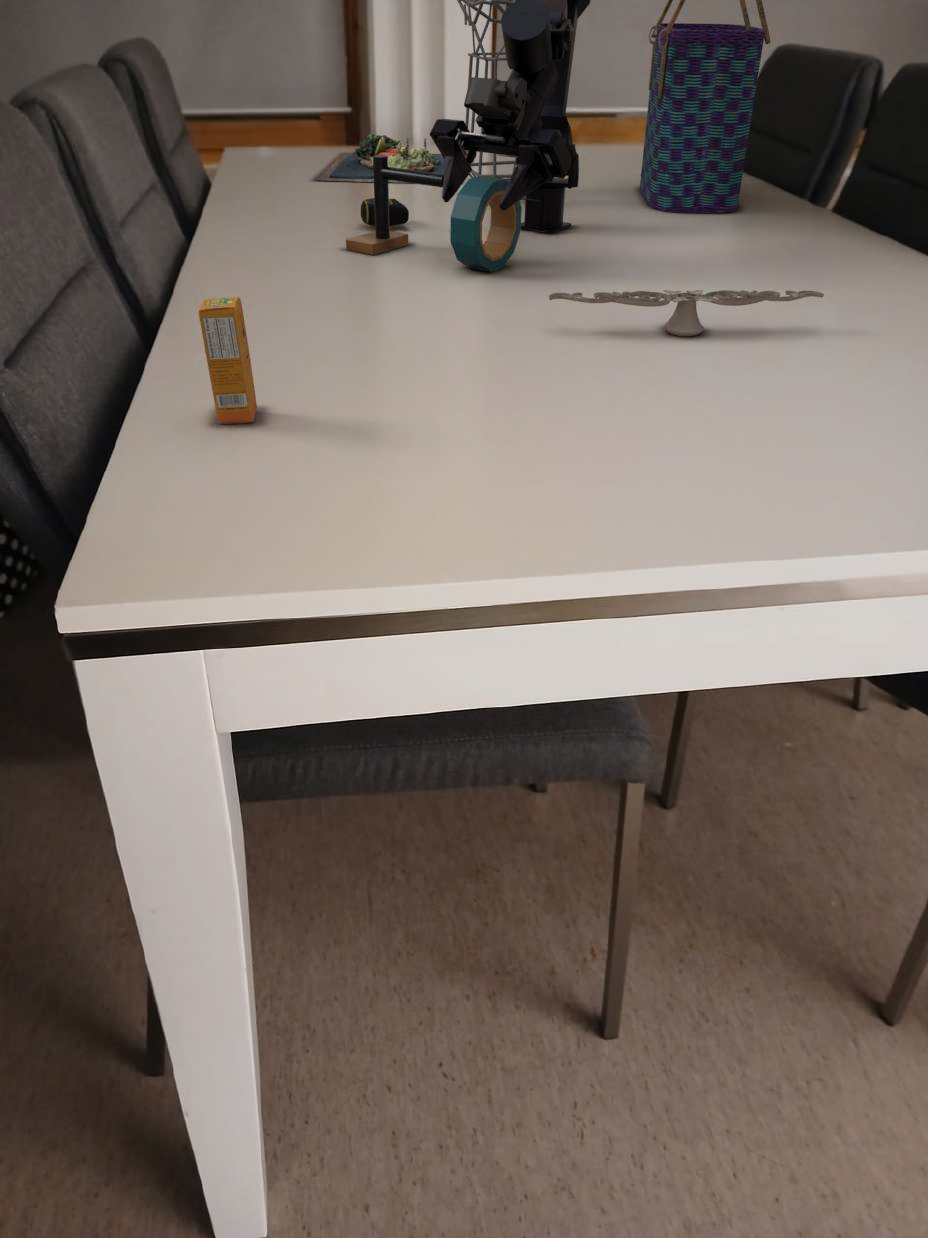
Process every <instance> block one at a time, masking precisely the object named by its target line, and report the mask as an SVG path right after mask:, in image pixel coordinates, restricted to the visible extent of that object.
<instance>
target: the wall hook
mask: <svg viewBox="0 0 928 1238" xmlns="http://www.w3.org/2000/svg"><path fill="white" fill-rule="evenodd" d="M784 294H785V296H781V292H779V291H775V290H763V291H758V290H752V291H748V290H739V291H737V290H728V289H726V290H725V289H724V290H716V291H709V292H706V293H705V294H704V289H695V290H686V291H685V292H683V291H682V290H676V291H675V290H669V289H663V292H660V291H659V292H657V291H648V290H638V291H623V292H617V291H612V292H603V291H599V292H594V293H593V297H592V298H591V297H585V296H583V292H573V293H572V294H571V293H567V292H553V293H551V294H549V296H548V299H549V301H553V300H568V301H573V302H579V303H587V304H607V303H616V304H622V305H627V306H635V307H645V308H646V307H653V308H654V307H655V308H657V307H662V306H664V307H665V306H668V305H669V304H670V303H671V302H672V303H676V306H675V309H674V311H673V313H672V315H671V317H670V318H669V319H668V321H666V322H665V323H664V325H663V328H664V330H665V331H666V332H667V333H668V334H670V335H673V336H678V337H693V336H698V335H699V334H701V333H702V332H703V330H704V326H703V325H702V323H701V321H700V318H699V314H698V309H697V302H699V301H702V302H708V303H712V304H714V305H719V306H725V307H727V306H728V307H729V306H730V307H738V306H747V305H748V306H749V305H754V304H757V303H761V302H764V301H768V302H792V301H796V300H797V301H798V300H800V299H804V298H808V297H812V298H813V297H815V298H823V297H824V296H825V294H824V292H821V291H815V290H799V291H795V290H785V293H784Z"/></svg>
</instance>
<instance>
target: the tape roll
mask: <svg viewBox="0 0 928 1238" xmlns="http://www.w3.org/2000/svg"><path fill="white" fill-rule="evenodd" d="M473 177H474V176H473ZM507 179H508V178H496V177H488V176H479V177H477V176H476V177H474V178H471V177H469V178H468V180H467V181H466V182H465V183H464V185H463V186H461V189H459V191H458V193H457V194H456V197H455V200H454V203H453V207H452V211H451V214H450V224H449V225H450V227H449V228H450V231H449V233H450V234H449V235H450V238H449V239H450V244H451V248H452V250H453V253H454V256H455V259H456V261H458V262H459V263H460V264H462V265H464V266H465V267H466V268H467V269H468V268H469V269H473V270H479V271H485V272H489V273H491V272H495V271H498V270H500V269H503V268H504V267H505V266H506V264H507V263H508V262H509V260H510V259H511V257H512V256H513V255H514V253H515V250H516V247H517V244H518V241H519V238H520V234H521V231H522V229H521V223H522V212H523V211H522V210H523V208H522V207H523V206H522V204H521V201H520V200H519V201H517V202H516V203H515V204H513V205H512V206H511V207H509V208H508V209H507V210H505V211H502V210H501V209H500V207H499V204H500V201H501V198H502V195H503V193H504V191H505V189H506V187H507V185H508V182H509V181H508V180H507ZM488 206H489V207H490V226H489V230H488V233H487V236H486V240H485V242H483V222H484V218H485V215H486V212H487V209H488Z"/></svg>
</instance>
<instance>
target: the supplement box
mask: <svg viewBox="0 0 928 1238" xmlns="http://www.w3.org/2000/svg"><path fill="white" fill-rule="evenodd" d="M201 302H202V303H201V305H200V307H199V309H198V312H197V313H198V318H199V324H200V329H201V335H202V340H203V345H204V352H205V357H206V364H207V368H208V374H209V380H210V386H211V392H212V397H213V402H214V408H215V409H214V410H215V414H216V421H217V424H220V425H222V424H223V425H224V424H226V425H227V424H228V425H229V424H230V425H231V424H246V423H253V422H255V418H256V413H257V410H258V404H257V397H256V390H255V389H256V388H255V383H254V375H253V368H252V367H253V366H252V361H251V355H250V346H249V342H248V341H249V340H248V335H247V328H246V321H245V315H244V309H243V304H242V303H243V302H242V300H241V297H239V296H230V297H229V296H227V297H212V298H204V299H203V300H202V301H201Z"/></svg>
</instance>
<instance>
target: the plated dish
mask: <svg viewBox="0 0 928 1238" xmlns="http://www.w3.org/2000/svg"><path fill="white" fill-rule="evenodd" d="M366 138H369V140H363V142H362V140H361V141H358V143H359V146H358V147H357V148H356V149H355V151H354V152H352V153H347V152H346V153H343V154H342V155H340V156H339V157H338V158H337V159H336V160H335V161H333V162H332V163H331V164H330V165H329V166H328V167H327V168H325V170H324V171H323V172H322V173H320V174H319V175H318V176H317V177H316V178H315V179H314V181H324V182H325V181H329V182H364V183H365V182H366V183H374V176H373V156H375V155H385V156H387V157H388V167H393V168H401V169H408V170H416V171H423V172H430V173H438V174H444V171H445V159H444V158H443V156H442V154H441V153H430V151H429V150H428V149H427V138H423V140H424V141H423V148H418V149H416V148H411V147H410V145H409V144H410V142H409V138H408V137H406V145H405V147H402V142H401V140H400V139H394V138H392V137H388V136H387V135H385V134H383V135H379V134H377V135H376V134H375V133H374V132H371V133H369V134H368V135H367V136H366ZM398 146H399V147H398ZM388 183H401V184H402V183H403V184H408V183H407V182H400V181H394V180H388Z"/></svg>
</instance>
